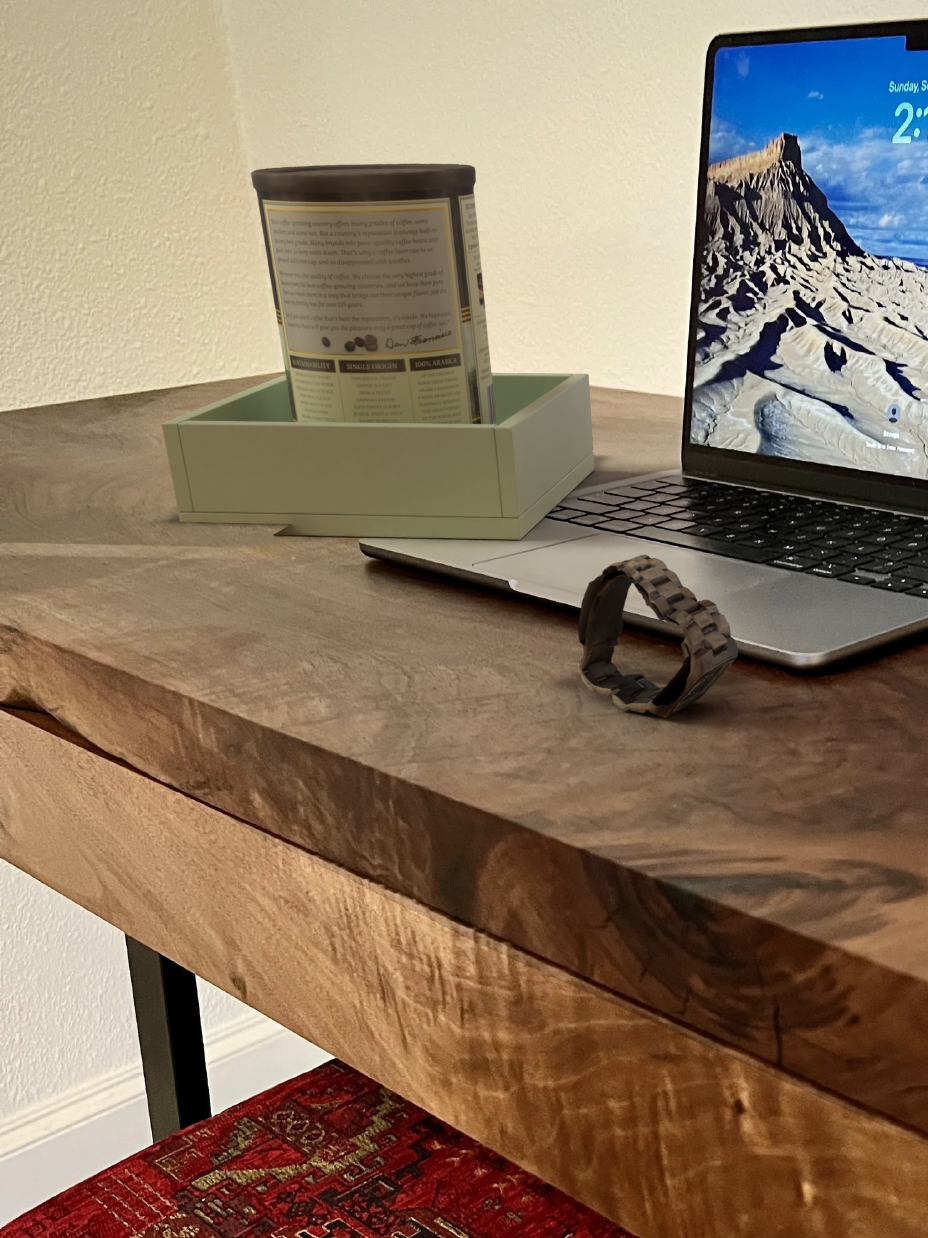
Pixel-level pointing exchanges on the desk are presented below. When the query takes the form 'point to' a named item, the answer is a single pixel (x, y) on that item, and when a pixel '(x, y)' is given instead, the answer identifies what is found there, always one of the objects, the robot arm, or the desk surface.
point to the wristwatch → (671, 602)
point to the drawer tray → (384, 464)
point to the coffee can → (378, 292)
